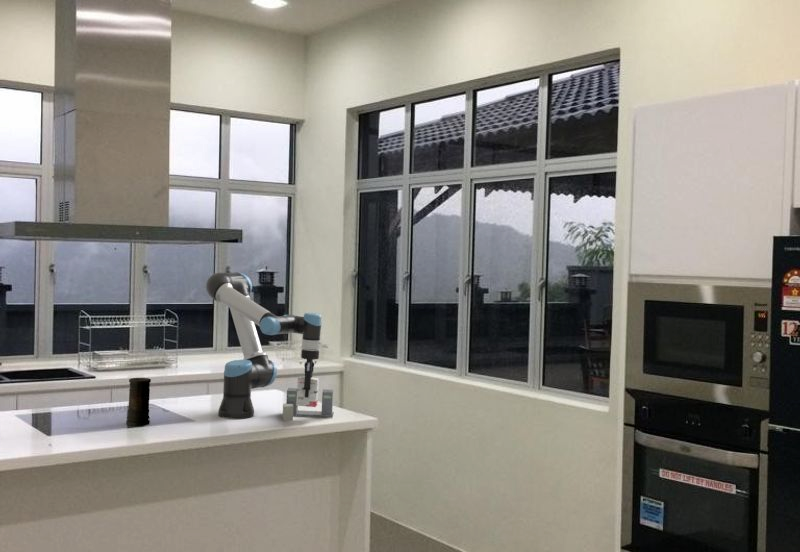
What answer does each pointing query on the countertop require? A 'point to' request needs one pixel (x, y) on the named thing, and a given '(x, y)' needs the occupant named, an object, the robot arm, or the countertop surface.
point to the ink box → (313, 392)
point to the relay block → (288, 411)
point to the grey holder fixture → (326, 411)
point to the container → (139, 402)
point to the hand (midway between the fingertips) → (306, 403)
